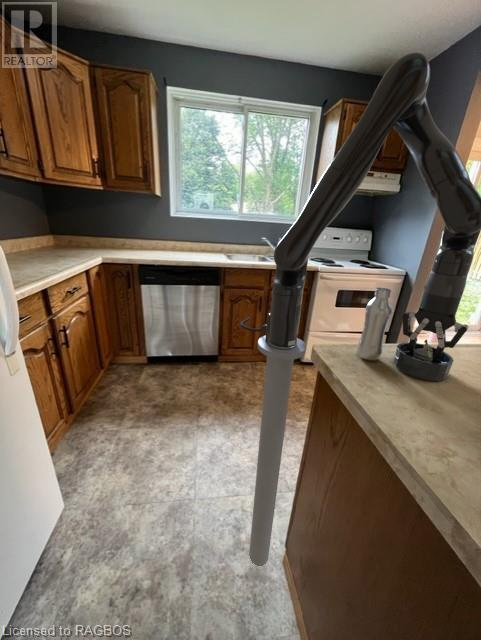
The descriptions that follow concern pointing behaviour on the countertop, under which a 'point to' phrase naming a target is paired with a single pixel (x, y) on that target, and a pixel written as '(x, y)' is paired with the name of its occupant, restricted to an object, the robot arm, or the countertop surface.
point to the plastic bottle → (375, 325)
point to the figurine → (424, 353)
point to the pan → (422, 364)
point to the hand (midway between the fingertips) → (422, 355)
